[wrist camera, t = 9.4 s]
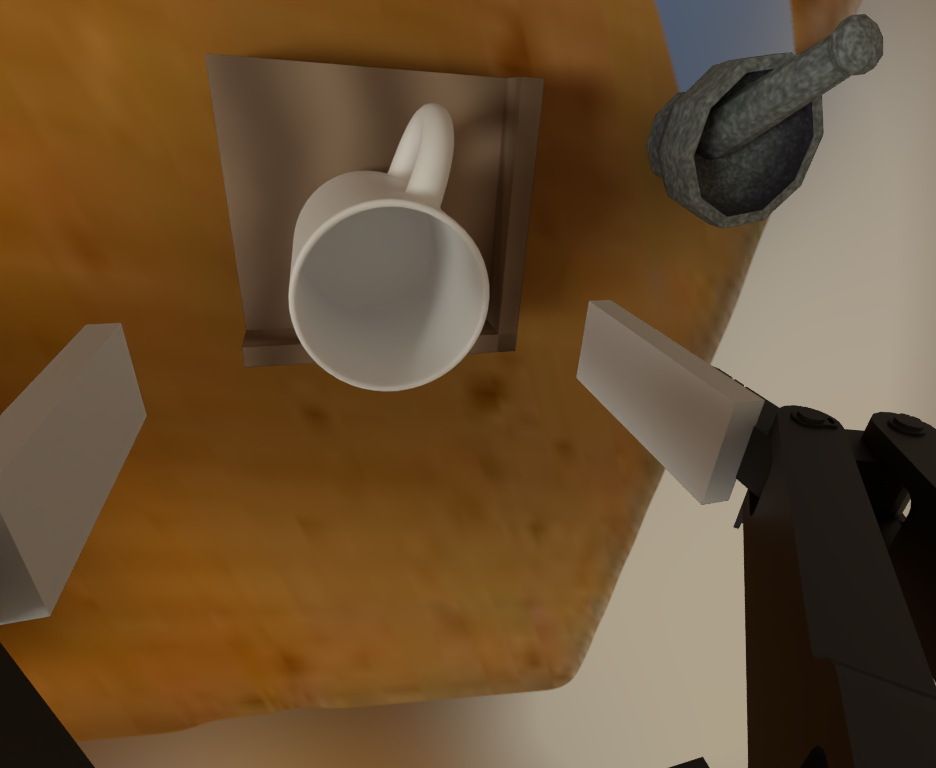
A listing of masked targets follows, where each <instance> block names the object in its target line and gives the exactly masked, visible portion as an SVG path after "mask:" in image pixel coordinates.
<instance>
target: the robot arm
mask: <svg viewBox="0 0 936 768" xmlns="http://www.w3.org/2000/svg"><path fill="white" fill-rule="evenodd" d="M576 378H577V379H578V380H579V381H580V382H581V383H582V384H583V385H584V386H585V387H586V388H587V389H588V390H589V391H590V392H591V393H592V394H593V395H594V396H595V397H596V398H597V399H598V400H599V401H600V402H601V403H602V404H603V405H604V406H605V407H606V408H607V409H608V410H609V412H610V413H611V414H612V415H613V416H614V417H615V418H616V419H617V420H618V421H619V422H620V423H621V424H622V425H623V426H624V427H625V428H626V429H627V430H628V431H629V432H630V433H631V434H632V435H633V436H634V437H635V438H636V439H637V440H638V441H639V442H640V443H641V444H642V445H643V446H644V447H645V448H646V449H647V450H648V451H649V452H650V453H651V454H652V455H653V456H654V457H655V458H656V459H657V460H658V461H659V462H660V463H661V464H662V465H663V466H664V467H665V468H666V469H667V470H668V471H669V472H670V473H671V474H672V475H673V476H674V477H675V478H676V479H677V480H678V481H679V482H680V483H681V484H682V485H683V487H684V488H685V489H686V490H688V492H689V493H690V494H691V495H692V496H693V497H694V498H696V500H697V501H698V502H699V503H700V504H701V505H704V504H710V503H716V502H722V501H728V500H729V498H730V495H731V493H732V490H733V487H734V484H735V482H736V479H738V480H739V481H740V482H741V483H742V484H743V485H744V486H746V487H747V488H748V490H747V493H746V496H745V498H744V501H743V504H742V506H741V509H740V511H739V514H738V517H737V519H736V522H735V525H734V527H735V528H739V527H740V525H741V523H743V531H744V578H745V579H744V582H745V630H746V677H747V726H748V768H936V685H935V683H934V680H935V682H936V429H935V428H933V427H932V426H931V425H929V424H926V423H924V422H922V421H921V420H920V419H918V418H916V417H913V416H909V415H906V414H896V413H890V412H879V413H875V414H873V415H872V417H871V419H870V421H869V423H868V425H867V427H866V429H865V431H860V430H848V429H844V428H843V426H842V425H841V424H840V422H839V421H837V420H836V419H835V418H833V417H831V416H829V415H827V414H825V413H823V412H820V411H818V410H814V409H811V408H808V407H801V406H794V405H792V406H783V407H781V408H779V407H777V406H776V405H774V404H772V403H771V402H769V401H768V400H766V399H765V398H763V397H762V396H760V395H759V394H757V393H755V392H754V391H752V390H751V389H749V388H748V387H744V385H743V384H742V383H740V382H738V381H737V380H733V379H732V377H731V376H729V375H728V374H726V373H725V372H723V371H721V370H720V369H718V368H716V367H713V366H711V365H710V364H708V363H707V362H705V361H704V360H702V359H701V358H699V357H697V356H696V355H694V354H693V353H691V352H690V351H688V350H687V349H685V348H684V347H682V346H681V345H679V344H677V343H676V342H674V341H673V340H671V339H670V338H668V337H667V336H665V335H664V334H662V333H661V332H659V331H657V330H656V329H654V328H653V327H651V326H650V325H648V324H647V323H645V322H644V321H642V320H641V319H639V318H637V317H636V316H634V315H633V314H631V313H630V312H628V311H627V310H625V309H624V308H622V307H621V306H619V305H617V304H616V303H614V302H613V301H611V300H598V301H589V304H588V310H587V316H586V322H585V328H584V334H583V340H582V347H581V353H580V359H579V365H578V371H577V377H576ZM146 417H147V415H146V411H145V408H144V404H143V401H142V397H141V393H140V390H139V386H138V383H137V379H136V375H135V372H134V368H133V364H132V361H131V357H130V354H129V350H128V346H127V343H126V339H125V335H124V332H123V328H122V325H121V323H108V324H87V325H85V326H84V327H83V328H82V329H81V330H80V331H79V333H78V334H77V335H76V336H75V337H74V338H73V339H72V340H71V341H70V342H69V343H68V344H67V345H66V346H65V347H64V348H63V349H62V350H61V352H60V353H59V354H58V355H57V356H56V357H55V358H54V359H53V360H52V361H51V362H50V363H49V364H48V365H47V366H46V367H45V368H44V369H43V371H42V372H41V373H40V374H39V375H38V376H37V377H36V378H35V379H34V380H33V381H32V382H31V383H30V384H29V385H28V386H27V387H26V388H25V390H24V391H23V392H22V393H21V394H20V395H19V396H18V397H17V398H16V399H15V400H14V401H13V402H12V403H11V404H10V405H9V406H8V407H7V409H6V410H5V411H4V412H3V413H2V414H1V415H0V625H3V624H8V623H14V622H20V621H26V620H32V619H38V618H43V617H49V616H50V615H51V613H52V611H53V609H54V607H55V605H56V603H57V601H58V599H59V597H60V595H61V592H62V590H63V588H64V586H65V584H66V582H67V580H68V578H69V576H70V574H71V572H72V570H73V568H74V566H75V564H76V561H77V559H78V557H79V555H80V553H81V551H82V549H83V547H84V545H85V543H86V541H87V539H88V537H89V535H90V533H91V530H92V528H93V526H94V524H95V522H96V520H97V518H98V516H99V514H100V512H101V510H102V508H103V506H104V504H105V502H106V499H107V497H108V495H109V493H110V491H111V489H112V487H113V485H114V483H115V481H116V479H117V477H118V475H119V473H120V471H121V468H122V466H123V464H124V462H125V460H126V458H127V456H128V454H129V452H130V450H131V448H132V446H133V444H134V442H135V439H136V437H137V435H138V433H139V431H140V429H141V427H142V425H143V423H144V421H145V419H146ZM910 499H911V509H910V511H909V514H908V516H907V518H906V517H905V516H904V514H903V511H904V509H905V508H906V506H907V504H908V502H909V500H910ZM933 679H934V680H933ZM0 768H95V767H94V766H93V765H92V763H91V762H90V761H89V759H88V758H87V757H86V755H85V754H84V753H83V751H82V750H81V749H80V747H79V746H78V745H77V743H76V742H75V741H74V739H73V738H72V737H71V735H70V734H69V733H68V731H67V730H66V729H65V727H64V726H63V725H62V723H61V722H60V721H59V720H58V718H57V717H56V716H55V714H54V713H53V712H52V710H51V709H50V708H49V706H48V705H47V704H46V702H45V701H44V700H43V698H42V697H41V696H40V694H39V693H38V692H37V690H36V689H35V688H34V686H33V685H32V684H31V683H30V681H29V680H28V679H27V677H26V676H25V675H24V673H23V672H22V671H21V669H20V668H19V667H18V665H17V664H16V663H15V661H14V660H13V659H12V657H11V656H10V655H9V653H8V652H7V651H6V649H5V648H4V647H3V645H2V644H1V643H0ZM670 768H709V766H708V765H707V763H706V761H705V760H704V758H703V757H701V758H698V759H694V760H692V761H688V762H685V763H682V764H679V765H676V766H673V767H670Z"/></svg>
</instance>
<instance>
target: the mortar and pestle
mask: <svg viewBox="0 0 936 768" xmlns="http://www.w3.org/2000/svg"><path fill="white" fill-rule="evenodd" d="M882 55H883V36H882V34H881V32H880V29H879V27H878V25H877V24H876V23H875V22H874V21H873V20H872V19H870V18H869V17H868V16H867V15H865V14H862V15H851V16H849V17H848V18H846V19H845V20H843V21H842V22H840V24H839V25H838V27H837V28H836V30H835V31H834V33H833V34H832V35H830V36H828V37H827V38H825V39H823V40H822V41H820V42H818V43H817V44H815V45H813V46H812V47H810V48H808V49H807V50H805V51H803V52H802V53H800V54H798V55H797V56H795V55H794V54H793V53H781V54H771V55H765V56H757V57H749V58H743V59H735V60H729V61H726V62H723V63H720V64H717V65H714V66H712V67H711V68H710V69H709V70H708V71H707V72H706V73H705V74H704V75H703V76H702V77H701V78H700V79H699V80H698V81H697V82H696V83H695V84H694V85H693V86H692V87H691V88H690V89H689V90H688V91H687V92H682V93H677V94H676V95H675V96H674V97H673V98H672V99H671V100H670V101H669V102H668V103H667V104H666V105H665V106H664V107H663V108H662V109H661V110H660V111H659V112H658V113H657V114H656V116H655V119H654V122H653V125H652V129H651V132H650V135H649V138H648V141H647V145H646V146H647V150H648V154H649V159H650V163H651V168H652V171H653V172H654V173H655V174H657V175H658V176H659V177H661V178H662V179H663V181H664V186H665V188H666V191H667V194H668V196H669V197H670V198H672V199H673V200H674V201H676V202H677V203H679V204H680V205H682V206H683V207H684V208H686V209H687V210H689V211H690V212H692V213H693V214H694V215H696V216H697V217H699V218H701V219H702V220H704V221H705V222H707V223H709V224H711V225H714V226H717V227H720V228H727V227H732V226H737V225H742V224H747V223H752V222H757V221H762V220H764V219H765V218H766V217H767V216H768V215H770V214H771V213H772V212H773V211H774V210H775V209H776V208H777V207H778V206H779V205H780V204H781V203H783V201H785V200H786V199H787V198H788V197H789V196H790V195H791V194H792V193H793V192H794V191H795V190H797V189H798V188H799V187H800V186H801V184H802V182H803V180H804V177H805V175H806V173H807V171H808V168H809V166H810V164H811V161H812V159H813V157H814V155H815V152H816V150H817V148H818V146H819V143H820V141H821V139H822V137H823V111H822V94H824V93H825V92H827V91H828V90H830V89H831V88H833V87H835V86H836V85H838V84H839V83H841V82H842V81H844V80H845V79H847V78H848V77H850V76H851V75H860V74H865V73H867V72H868V71H870V70H872V69H873V68H874V67H875V66H876V65H877V63H878V62H879V60H880V58H881V57H882Z"/></svg>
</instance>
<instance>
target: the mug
mask: <svg viewBox="0 0 936 768" xmlns="http://www.w3.org/2000/svg"><path fill="white" fill-rule="evenodd" d="M453 151H454V128H453V122H452V119H451V116H450V115H449V113H448V112H447V110H446V109H445V108H444V107H443V106H441V105H439V104H435V103H429V104H426V105H423V106H422V107H421V108H420V109H419V110H417V111H416V113H415V114H414V115H413V117H412V118H411V120H410V122H409V124H408V125H407V127H406V129H405V132H404V134H403V136H402V138H401V140H400V143H399V145H398V148H397V150H396V153H395V155H394V158H393V161H392V163H391V166H390V168H389V171H388V173H383V172H378V171H354V172H348V173H345V174H342V175H339V176H336V177H334V178H333V179H331V180H329V181H327V182H326V183H324V184H323V185H322V186H320V187H319V188H318V189H317V190H316V191H315V192H314V193H313V194H312V195H311V196H310V198H309V199H308V200H307V201H306V203H305V205H304V207H303V208H302V210H301V212H300V214H299V217H298V220H297V222H296V227H295V231H294V239H293V250H292V261H291V272H290V283H289V294H288V297H289V311H290V315H291V320H292V324H293V326H294V329H295V332H296V334H297V336H298V338H299V340H300V342H301V344H302V346H303V347H304V348H305V350H306V351H307V353H308V354H309V355H310V356H311V358H312V359H313V360H314V361H315V362H316V363H317V364H318V365H319V366H320V367H322V368H323V369H324V370H325V371H327V372H328V373H329V374H331V375H333V376H334V377H336V378H337V379H339V380H341V381H344V382H346V383H348V384H350V385H353V386H356V387H359V388H363V389H368V390H374V391H400V390H406V389H411V388H415V387H418V386H421V385H424V384H427V383H429V382H431V381H433V380H435V379H437V378H439V377H441V376H442V375H444V374H445V373H447V372H448V371H450V370H451V369H452V368H454V367H455V366H456V365H457V364H458V363H459V362H460V361H461V360H462V359H463V358H464V357H465V356H466V355H467V354H468V352H469V351H470V350H471V348H472V347H473V345H474V344H475V342H476V340H477V339H478V337H479V335H480V333H481V331H482V328H483V325H484V323H485V319H486V316H487V312H488V305H489V280H488V273H487V270H486V266H485V263H484V260H483V258H482V256H481V253H480V251H479V249H478V247H477V246H476V244H475V242H474V241H473V239H472V238H471V237H470V236H469V234H468V233H467V232H466V231H465V230H464V229H463V228H462V227H461V226H460V225H459V224H458V223H457V222H456V221H455V220H454V219H452V218H451V217H450V216H448V215H447V214H446V213H445V212H444V211H442V210H441V208H440V206H441V203H442V200H443V196H444V193H445V190H446V186H447V182H448V178H449V174H450V169H451V164H452V158H453Z"/></svg>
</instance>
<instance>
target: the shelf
mask: <svg viewBox="0 0 936 768" xmlns="http://www.w3.org/2000/svg"><path fill="white" fill-rule="evenodd" d="M205 59H206V65H207V72H208V79H209V85H210V92H211V99H212V105H213V112H214V119H215V125H216V132H217V139H218V145H219V152H220V159H221V165H222V172H223V179H224V185H225V192H226V199H227V205H228V212H229V218H230V225H231V232H232V238H233V245H234V252H235V258H236V265H237V272H238V278H239V285H240V292H241V298H242V305H243V312H244V318H245V325H246V333H245V337H244V341H243V345H242V352H243V358H244V365H245V367H257V366H273V365H290V364H307V363H316V362H315V361H314V360H313V359H312V358H311V356H310V355H309V354H308V353H307V351H306V350H305V348H304V347H303V346H302V344H301V342H300V340H299V338H298V336H297V334H296V332H295V329H294V326H293V324H292V320H291V315H290V311H289V297H288V294H289V283H290V272H291V261H292V250H293V239H294V231H295V227H296V222H297V220H298V217H299V214H300V212H301V210H302V208H303V207H304V205H305V203H306V201H307V200H308V199H309V198H310V196H311V195H312V194H313V193H314V192H315V191H316V190H317V189H318V188H319V187H320V186H322V185H323V184H324V183H326V182H327V181H329V180H331V179H333V178H334V177H336V176H339V175H342V174H345V173H348V172H354V171H378V172H383V173H388V171H389V168H390V166H391V163H392V161H393V158H394V155H395V153H396V150H397V148H398V145H399V143H400V140H401V138H402V136H403V134H404V132H405V129H406V127H407V125H408V124H409V122H410V120H411V118H412V117H413V115H414V114H415V113H416V111H417V110H419V109H420V108H421V107H422V106H423V105H426V104H429V103H435V104H439V105H441V106H443V107H444V108H445V109H446V110H447V112H448V113H449V115H450V116H451V119H452V122H453V128H454V151H453V158H452V164H451V169H450V174H449V178H448V182H447V186H446V190H445V193H444V196H443V200H442V203H441V206H440V208H441V210H442V211H444V212H445V213H446V214H447V215H448V216H450V217H451V218H452V219H454V220H455V221H456V222H457V223H458V224H459V225H460V226H461V227H462V228H463V229H464V230H465V231H466V232H467V233H468V234H469V236H470V237H471V238H472V239H473V241H474V242H475V244H476V246H477V247H478V249H479V251H480V253H481V256H482V258H483V260H484V263H485V266H486V270H487V273H488V280H489V305H488V312H487V316H486V319H485V323H484V325H483V328H482V331H481V333H480V335H479V337H478V339H477V340H476V342H475V344H474V345H473V347H472V348H471V350H470V351H469V352H468V354H473V353H489V352H506V351H515V346H516V337H517V328H518V319H519V309H520V300H521V291H522V282H523V273H524V264H525V254H526V245H527V236H528V227H529V218H530V209H531V199H532V190H533V181H534V172H535V163H536V154H537V144H538V135H539V126H540V117H541V108H542V99H543V89H544V80H545V79H544V78H532V77H513V78H498V77H485V76H473V75H461V74H449V73H437V72H424V71H412V70H400V69H388V68H376V67H363V66H351V65H339V64H327V63H315V62H302V61H290V60H278V59H266V58H253V57H241V56H229V55H217V54H205Z"/></svg>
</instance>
